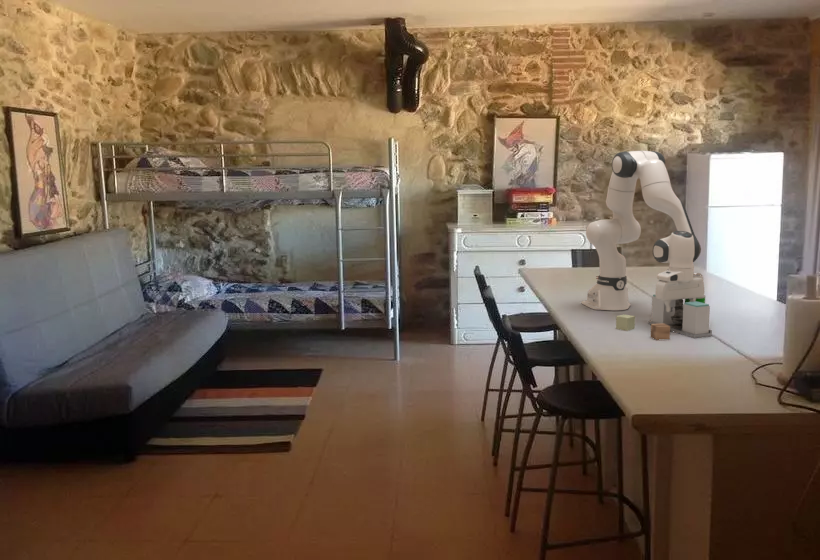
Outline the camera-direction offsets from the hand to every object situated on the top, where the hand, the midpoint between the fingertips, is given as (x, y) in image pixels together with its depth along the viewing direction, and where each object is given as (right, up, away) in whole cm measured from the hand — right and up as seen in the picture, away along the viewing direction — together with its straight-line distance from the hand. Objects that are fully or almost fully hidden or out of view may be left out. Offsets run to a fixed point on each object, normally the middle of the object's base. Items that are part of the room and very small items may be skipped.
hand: (679, 310), depth 287 cm
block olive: (-19, -7, +5) cm, 21 cm away
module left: (-3, -5, +9) cm, 11 cm away
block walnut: (-11, -10, -11) cm, 19 cm away
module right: (+3, -8, -7) cm, 11 cm away
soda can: (+10, -5, +13) cm, 18 cm away
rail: (0, -7, +1) cm, 8 cm away
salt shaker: (0, -6, +1) cm, 7 cm away
